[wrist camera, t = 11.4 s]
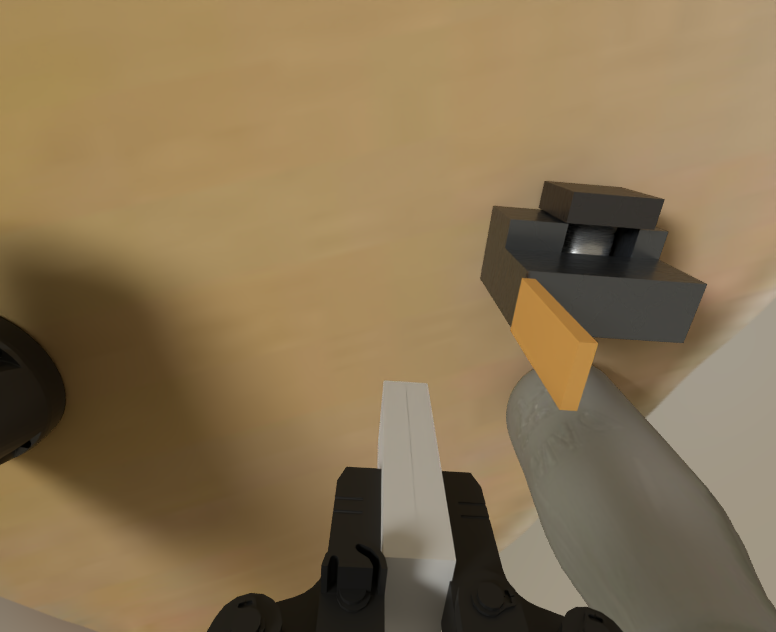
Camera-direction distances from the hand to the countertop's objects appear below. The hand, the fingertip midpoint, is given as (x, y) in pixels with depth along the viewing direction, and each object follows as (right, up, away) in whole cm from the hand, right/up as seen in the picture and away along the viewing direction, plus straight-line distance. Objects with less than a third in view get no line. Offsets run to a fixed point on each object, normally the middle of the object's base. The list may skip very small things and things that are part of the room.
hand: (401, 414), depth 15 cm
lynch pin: (+14, +9, +20) cm, 26 cm away
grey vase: (+14, -3, +26) cm, 30 cm away
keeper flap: (+8, +2, +7) cm, 11 cm away
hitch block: (+13, +9, +20) cm, 26 cm away
